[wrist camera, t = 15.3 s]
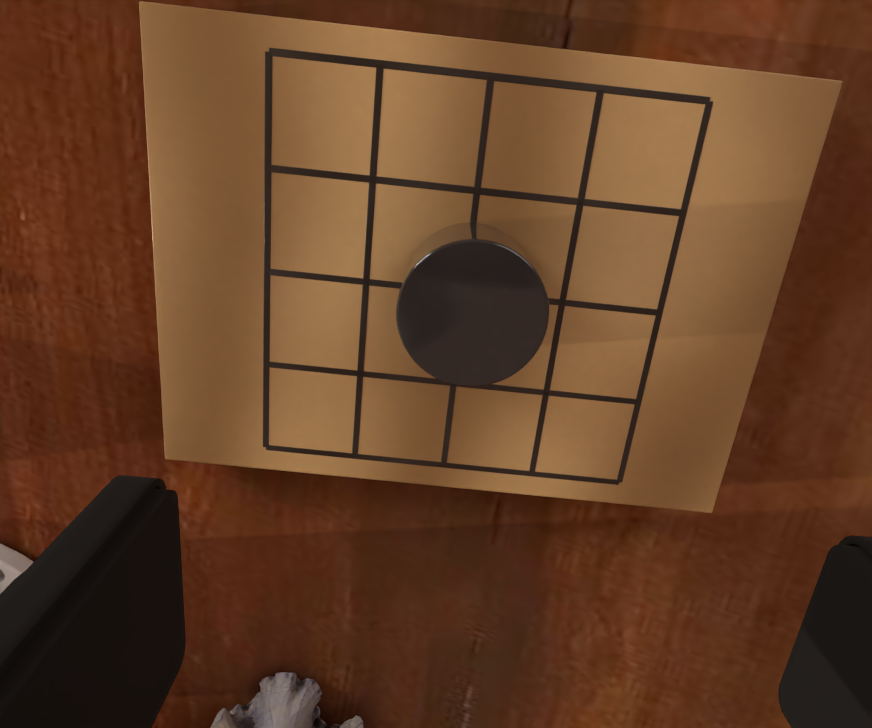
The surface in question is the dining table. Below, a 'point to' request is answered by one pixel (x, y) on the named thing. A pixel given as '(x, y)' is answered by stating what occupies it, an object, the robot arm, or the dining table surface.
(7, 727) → the robot arm
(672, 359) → the game board
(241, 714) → the stone
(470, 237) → the shiny metal cylinder
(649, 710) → the dining table surface
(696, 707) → the dining table surface
